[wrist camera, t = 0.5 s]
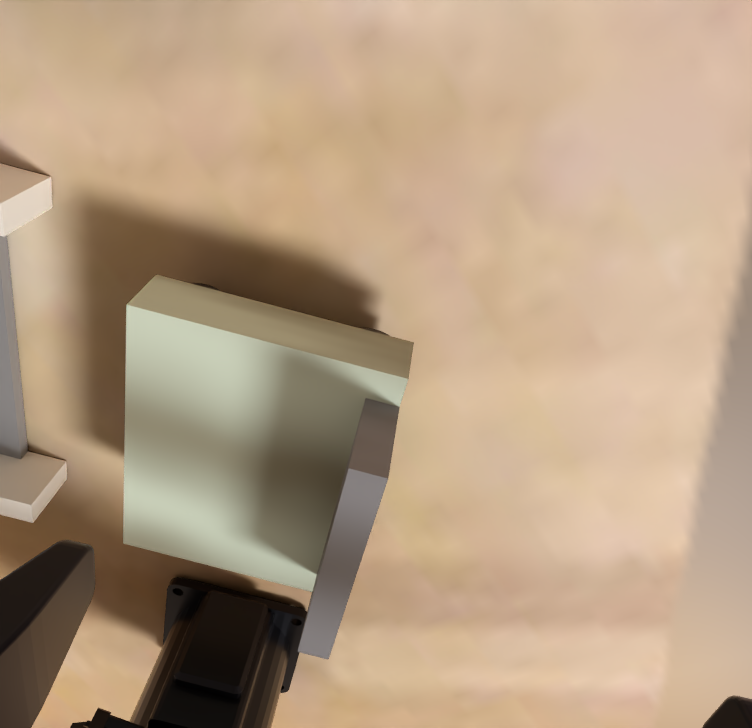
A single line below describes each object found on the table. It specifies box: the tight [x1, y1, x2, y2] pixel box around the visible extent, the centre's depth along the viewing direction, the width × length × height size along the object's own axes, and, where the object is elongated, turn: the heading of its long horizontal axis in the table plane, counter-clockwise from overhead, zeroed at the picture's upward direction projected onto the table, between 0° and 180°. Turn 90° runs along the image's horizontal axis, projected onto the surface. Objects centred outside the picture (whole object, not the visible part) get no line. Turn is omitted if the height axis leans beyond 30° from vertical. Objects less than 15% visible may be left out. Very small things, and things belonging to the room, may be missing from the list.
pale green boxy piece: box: [123, 274, 414, 659], centre depth 20 cm, size 10×8×6 cm
